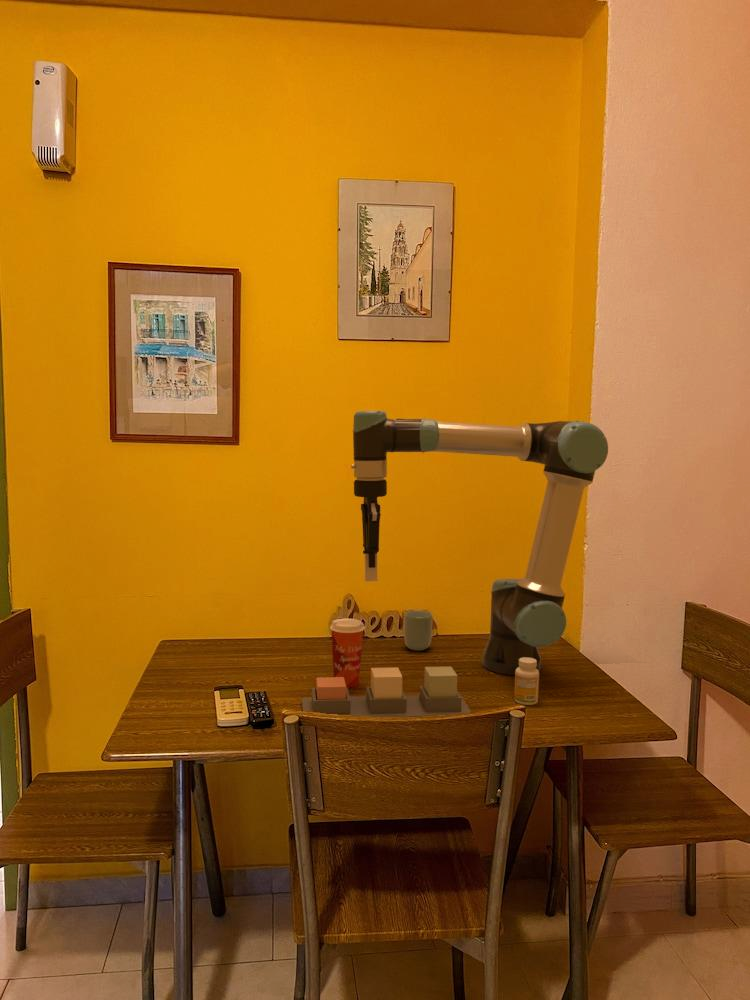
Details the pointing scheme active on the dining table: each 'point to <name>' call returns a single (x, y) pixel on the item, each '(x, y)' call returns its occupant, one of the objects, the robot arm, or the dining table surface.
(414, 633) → the cup
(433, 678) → the key sage
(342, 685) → the key terracotta
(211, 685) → the dining table surface
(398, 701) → the grey socket tray
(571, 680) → the dining table surface
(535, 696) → the supplement bottle
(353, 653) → the coffee cup
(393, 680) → the key cream
